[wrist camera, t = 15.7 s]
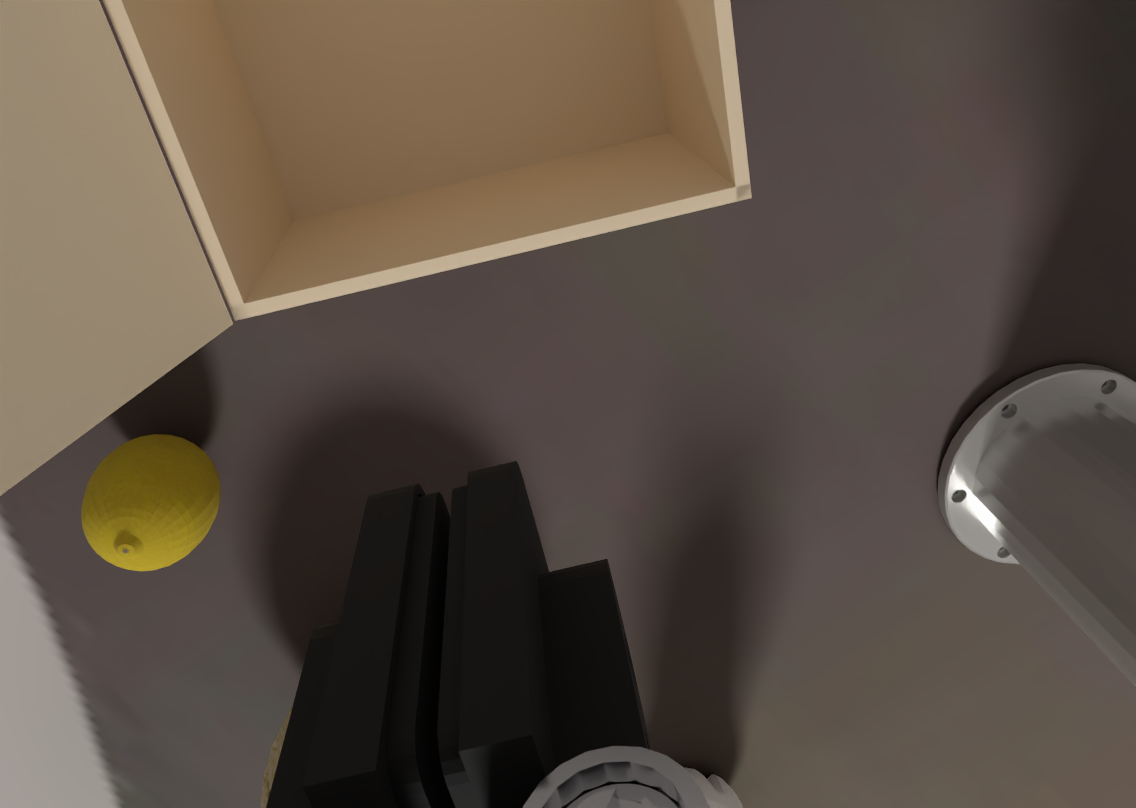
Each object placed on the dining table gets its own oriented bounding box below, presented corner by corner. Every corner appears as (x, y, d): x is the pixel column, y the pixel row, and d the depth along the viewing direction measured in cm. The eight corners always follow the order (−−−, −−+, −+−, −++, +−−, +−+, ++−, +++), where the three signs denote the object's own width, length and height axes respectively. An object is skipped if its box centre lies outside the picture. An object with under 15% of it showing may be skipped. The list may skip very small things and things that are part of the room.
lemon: (258, 453, 44) (222, 547, 37) (190, 521, 46) (142, 625, 39) (163, 384, 42) (105, 471, 35) (94, 458, 44) (25, 556, 36)
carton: (619, -265, 33) (690, -358, 23) (677, 139, 40) (751, 198, 30) (147, -155, 33) (18, -204, 23) (287, 231, 40) (235, 320, 30)
